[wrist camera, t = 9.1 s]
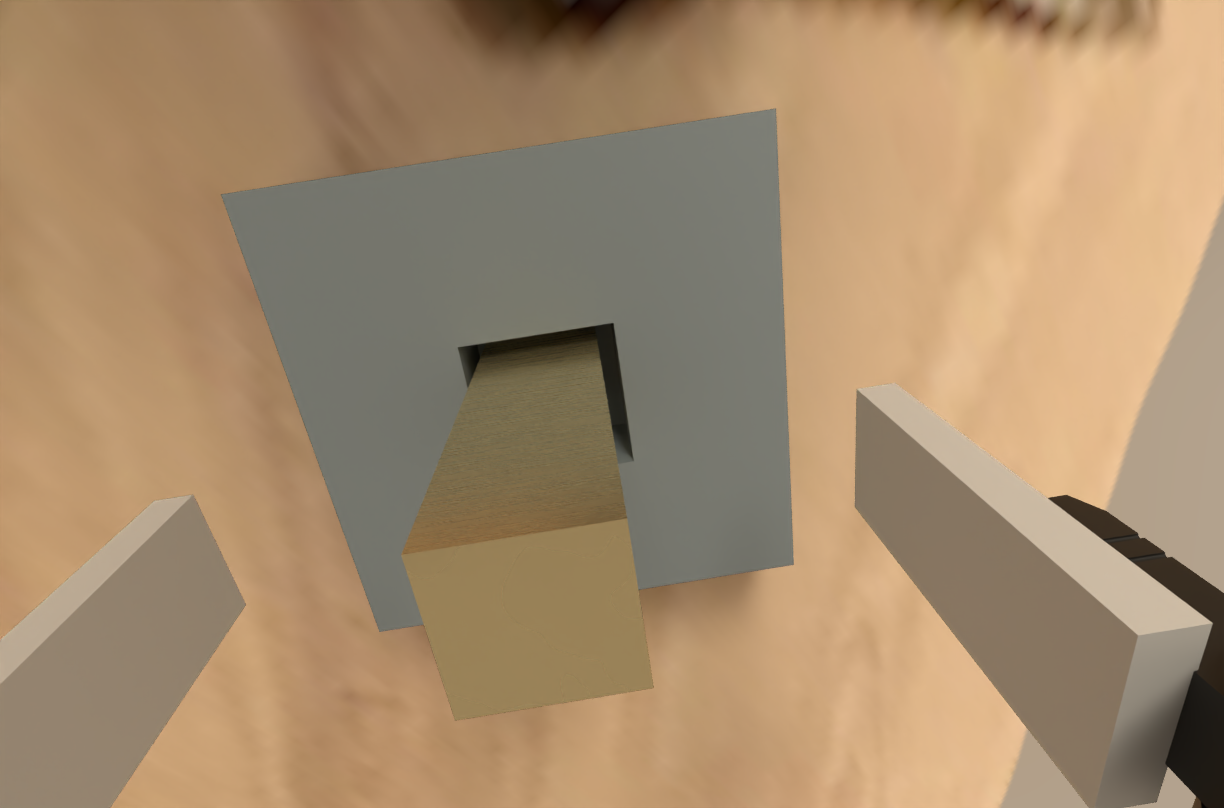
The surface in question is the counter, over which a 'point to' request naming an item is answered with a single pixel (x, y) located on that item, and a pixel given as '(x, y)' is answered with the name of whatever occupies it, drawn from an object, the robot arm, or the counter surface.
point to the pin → (529, 537)
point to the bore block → (544, 329)
